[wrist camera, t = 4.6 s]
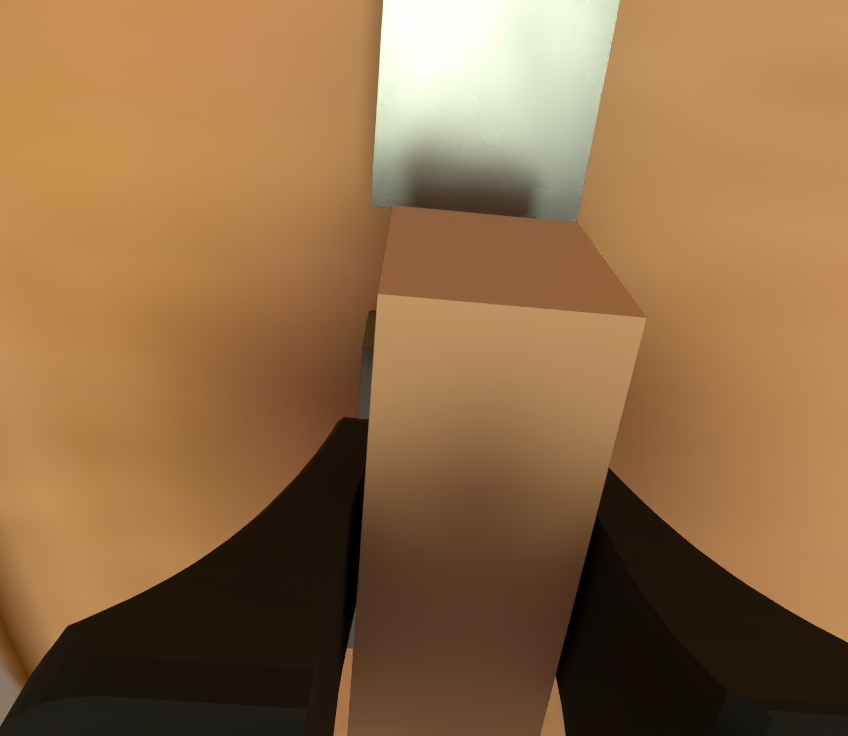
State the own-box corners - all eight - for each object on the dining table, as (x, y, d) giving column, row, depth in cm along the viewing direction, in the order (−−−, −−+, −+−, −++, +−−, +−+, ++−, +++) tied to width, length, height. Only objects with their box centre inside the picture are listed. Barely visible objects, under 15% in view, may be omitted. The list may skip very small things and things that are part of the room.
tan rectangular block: (496, 529, 17) (531, 771, 11) (371, 520, 17) (345, 760, 11) (556, 194, 13) (646, 317, 8) (397, 179, 13) (377, 294, 8)
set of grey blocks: (485, 602, 21) (491, 657, 19) (351, 592, 21) (344, 647, 19) (596, -4, 14) (620, -7, 12) (390, -26, 14) (385, -33, 12)
